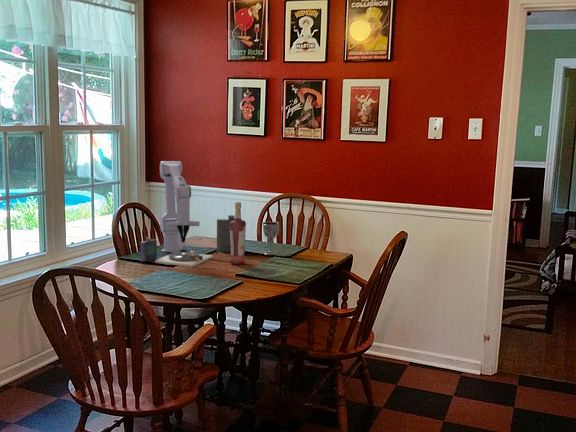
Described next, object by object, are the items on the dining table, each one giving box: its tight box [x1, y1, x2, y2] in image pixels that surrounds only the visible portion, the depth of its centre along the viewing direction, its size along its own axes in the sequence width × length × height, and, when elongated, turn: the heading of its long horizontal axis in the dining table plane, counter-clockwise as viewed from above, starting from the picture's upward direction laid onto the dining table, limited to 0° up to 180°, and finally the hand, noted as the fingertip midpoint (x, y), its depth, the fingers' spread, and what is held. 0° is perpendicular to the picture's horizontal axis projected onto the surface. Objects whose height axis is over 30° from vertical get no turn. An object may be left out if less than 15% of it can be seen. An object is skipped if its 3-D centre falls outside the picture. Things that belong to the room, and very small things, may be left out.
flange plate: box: [168, 250, 200, 261], centre depth 280 cm, size 16×14×4 cm
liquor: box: [229, 201, 247, 266], centre depth 275 cm, size 7×7×28 cm
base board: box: [154, 251, 214, 268], centre depth 281 cm, size 20×19×3 cm
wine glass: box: [262, 221, 280, 256], centre depth 298 cm, size 8×8×15 cm
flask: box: [216, 214, 246, 254], centre depth 299 cm, size 4×14×18 cm, turn 79°
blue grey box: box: [139, 236, 158, 263], centre depth 279 cm, size 9×3×11 cm, turn 146°
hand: (183, 241), depth 276 cm, fingers closed
